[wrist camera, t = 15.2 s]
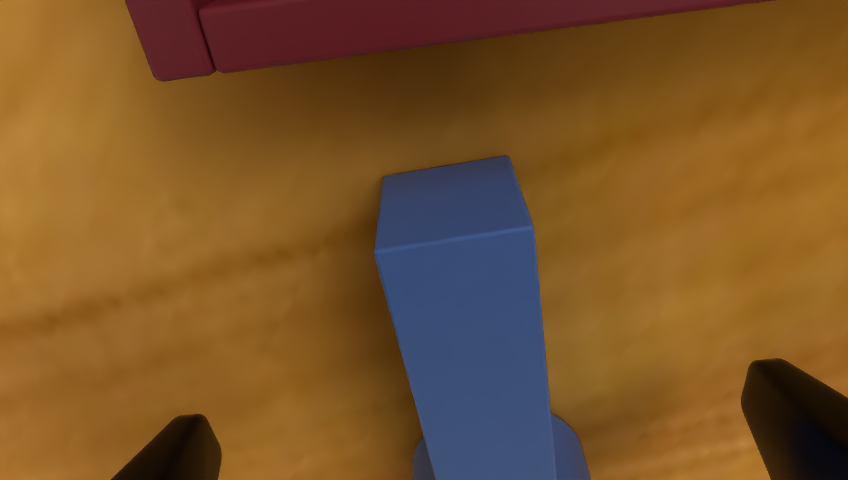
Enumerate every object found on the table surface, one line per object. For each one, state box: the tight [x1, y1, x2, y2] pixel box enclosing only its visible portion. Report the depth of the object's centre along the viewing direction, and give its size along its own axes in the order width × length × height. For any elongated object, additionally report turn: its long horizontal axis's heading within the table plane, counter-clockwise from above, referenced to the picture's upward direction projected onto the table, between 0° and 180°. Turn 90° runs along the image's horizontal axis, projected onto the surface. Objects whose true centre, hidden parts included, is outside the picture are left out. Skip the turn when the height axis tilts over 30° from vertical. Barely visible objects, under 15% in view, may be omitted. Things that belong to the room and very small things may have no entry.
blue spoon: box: [374, 156, 592, 480], centre depth 9 cm, size 8×3×2 cm, turn 10°
